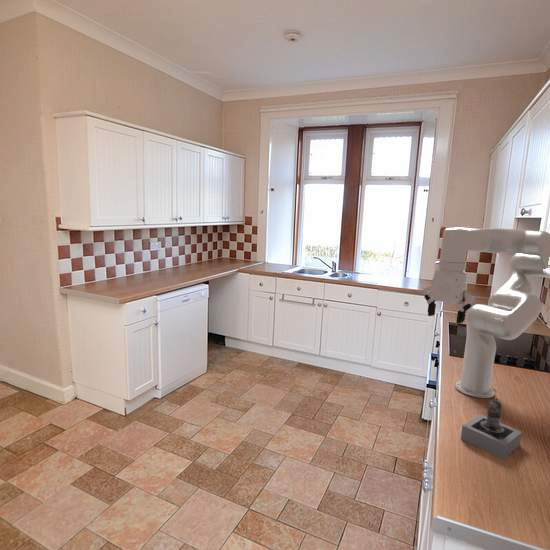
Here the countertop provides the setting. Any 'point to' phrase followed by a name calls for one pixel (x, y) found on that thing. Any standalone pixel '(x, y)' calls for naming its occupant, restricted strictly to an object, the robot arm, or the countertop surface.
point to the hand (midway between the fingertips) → (445, 319)
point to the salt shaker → (493, 420)
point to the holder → (491, 438)
